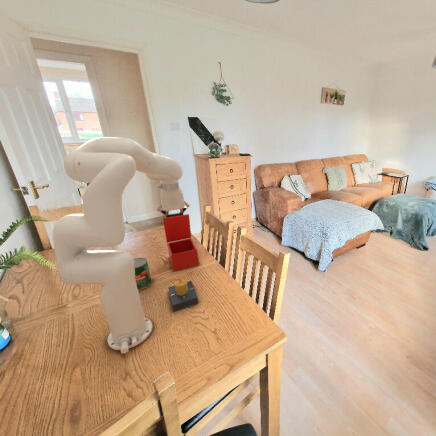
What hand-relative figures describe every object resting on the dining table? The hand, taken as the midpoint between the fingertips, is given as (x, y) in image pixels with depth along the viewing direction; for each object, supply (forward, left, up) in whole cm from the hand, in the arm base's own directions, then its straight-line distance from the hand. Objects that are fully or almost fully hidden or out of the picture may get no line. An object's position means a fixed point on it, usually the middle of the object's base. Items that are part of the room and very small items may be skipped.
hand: (175, 220), depth 121 cm
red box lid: (-5, 0, -3) cm, 5 cm away
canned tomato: (-19, +19, -19) cm, 33 cm away
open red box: (-9, 0, -19) cm, 21 cm away
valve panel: (-37, +5, -19) cm, 42 cm away
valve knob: (-37, +5, -16) cm, 41 cm away
